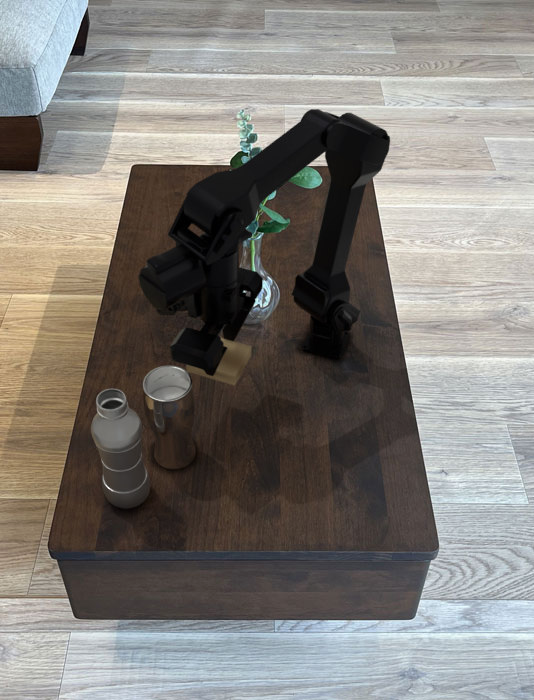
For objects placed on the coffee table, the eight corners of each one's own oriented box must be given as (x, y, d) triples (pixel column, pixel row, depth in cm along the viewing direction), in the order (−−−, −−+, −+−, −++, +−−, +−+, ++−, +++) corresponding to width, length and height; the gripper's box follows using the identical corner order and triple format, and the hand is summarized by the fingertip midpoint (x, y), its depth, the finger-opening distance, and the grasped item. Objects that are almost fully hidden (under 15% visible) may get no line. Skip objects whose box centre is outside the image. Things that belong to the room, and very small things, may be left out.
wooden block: (204, 342, 118) (204, 332, 117) (251, 355, 116) (251, 345, 115) (186, 371, 114) (185, 361, 112) (234, 385, 112) (234, 376, 110)
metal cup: (156, 477, 113) (146, 407, 103) (146, 440, 118) (136, 369, 107) (203, 466, 114) (199, 396, 104) (192, 430, 119) (187, 359, 109)
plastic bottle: (128, 468, 114) (111, 371, 100) (162, 493, 111) (149, 397, 97) (94, 497, 111) (72, 401, 97) (129, 523, 108) (110, 428, 94)
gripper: (190, 221, 112) (195, 305, 123) (128, 302, 99) (139, 387, 110) (265, 239, 109) (263, 323, 120) (210, 324, 96) (213, 410, 107)
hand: (219, 358), depth 114 cm, fingers closed on wooden block, 6 cm apart
